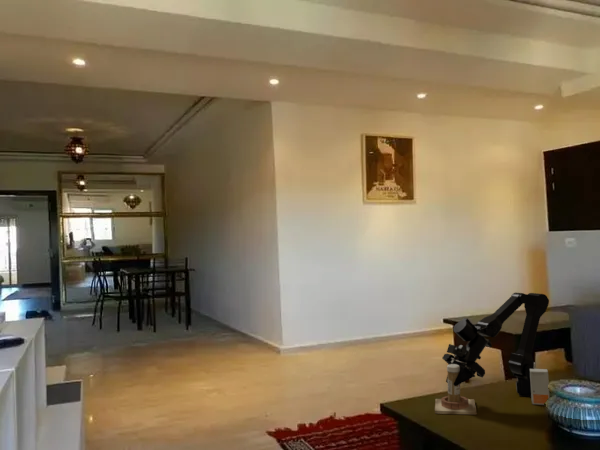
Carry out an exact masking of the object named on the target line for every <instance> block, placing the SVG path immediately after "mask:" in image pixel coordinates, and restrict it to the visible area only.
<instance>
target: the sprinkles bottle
mask: <svg viewBox="0 0 600 450" xmlns="http://www.w3.org/2000/svg"><path fill="white" fill-rule="evenodd" d="M446 372H447V375H448V379H447V378H446V379H447V380H448V383H447V396H448V402H461V400H460V396H461V384H459V385H457V386H454V385H453V384H454V382H455V380H456V378H457V376H458V374H459V372H460V366H459V365H456V364H449V365H448V364H447V365H446Z"/></svg>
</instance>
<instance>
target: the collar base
mask: <svg viewBox="0 0 600 450" xmlns="http://www.w3.org/2000/svg"><path fill="white" fill-rule="evenodd" d="M460 400H461V402H448V395H446V396H443V397H441V398H435V403H434V414H439V415H440V414H441V415H442V414H443V415H478V414H477V407H476V403H475V402H476V401H475V399H474V398H473V399H472V398H471V399H469V398H468V397H465V396H461V395H460Z"/></svg>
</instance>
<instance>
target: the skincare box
mask: <svg viewBox="0 0 600 450" xmlns="http://www.w3.org/2000/svg"><path fill="white" fill-rule="evenodd" d="M530 381H531V396H530V397H531V404H532V405H540V406H545V405H544V403H545V402H546V401H547V399H548V398H551V397H550V388H549V389H548V385H549V386H550V383H549V371H548V369H547V368H537V369H530Z"/></svg>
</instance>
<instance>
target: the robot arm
mask: <svg viewBox="0 0 600 450" xmlns="http://www.w3.org/2000/svg"><path fill="white" fill-rule="evenodd" d="M549 304H550V299H549V298H548V296H547V295H546V294H543V293H536V292H529V293H528V294H526V293H524V292H523V293H522V292H513V293H512V294H511V296H510V297H509V298H508V299H507V300H505V302H504V303H503V304H502V305H500V306H499V308H497V309H496V310H495V311H494V312H493V313H491V314H489V315H488V316H485V317H483V318H482V319H480V320H478V322H477V323H475V324H473V323H472V322H471V320H470V319H469V318H466V317H463V319H462V320H460V321H458V322H457V323H456V324H455V325H453V332H454V333H455V335H457V336H458V337H459V338H461V339H462V341H464V342H465V343H466V342H467V343H466V345H462V344H460V345H458V346H456V345H454V344H451V343H449V344H448V346H447V349H446V353H444V354H443V356H442V360H443V361H444V362H446V364H447V365H449V364H456V365H459V366H460V372H459V374H458V376H457V378H456V380H455V382H454V384H453V385H454V386H457V385H459V384H460V385H461V384H463V383H464V382H467V381H468V380H470V379H472V378H475V377H479V378H483V377H484V376H485V374H486V370H485V369H484V367H482V366H481V364H479V362H477V360H481V359H482V356H481V354H482V352H483V351H484V349H485V348H486V347H488V348H492V347H493V345H492V342H491V341H492V340H491V339H489V338H495V337H496V336H498V334H499V333H500V332H501V330H502V327H503V324H504V323H505V321H506V320H508V319H509V318H510V317H511V316H512V315H513V314H514V313H515V312H516V311H517V310H518V309H519V308H520V307H521V306H522V305H524V306H523V307H524V310H525V319H524V323H523V327H522V331H521V336H520V341H519V344H518V348H517V350H516V351H515V352H510V356H509V361H508V362H507V363H508V364H509V365H508V366H509V367H508V368H509V369H510V372H511V373H512V375H513V377H516V379H517V380H515V390H516V393H517V394H518V395H519V397H531V381H530V369H534V368H533V367H534V362H535V361H534V357H533V349H534V345H535V340H536V337H537V334H538V333H537V332H538V328H539V323H540V319H541V317H542V316H543V315H544V314H545V313H546V312H547V309H548V306H549ZM486 337H488V338H486ZM475 374H476V375H475ZM447 379H448V374H447V375H446V380H445V382H446V383H447V384H448V380H447Z"/></svg>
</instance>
